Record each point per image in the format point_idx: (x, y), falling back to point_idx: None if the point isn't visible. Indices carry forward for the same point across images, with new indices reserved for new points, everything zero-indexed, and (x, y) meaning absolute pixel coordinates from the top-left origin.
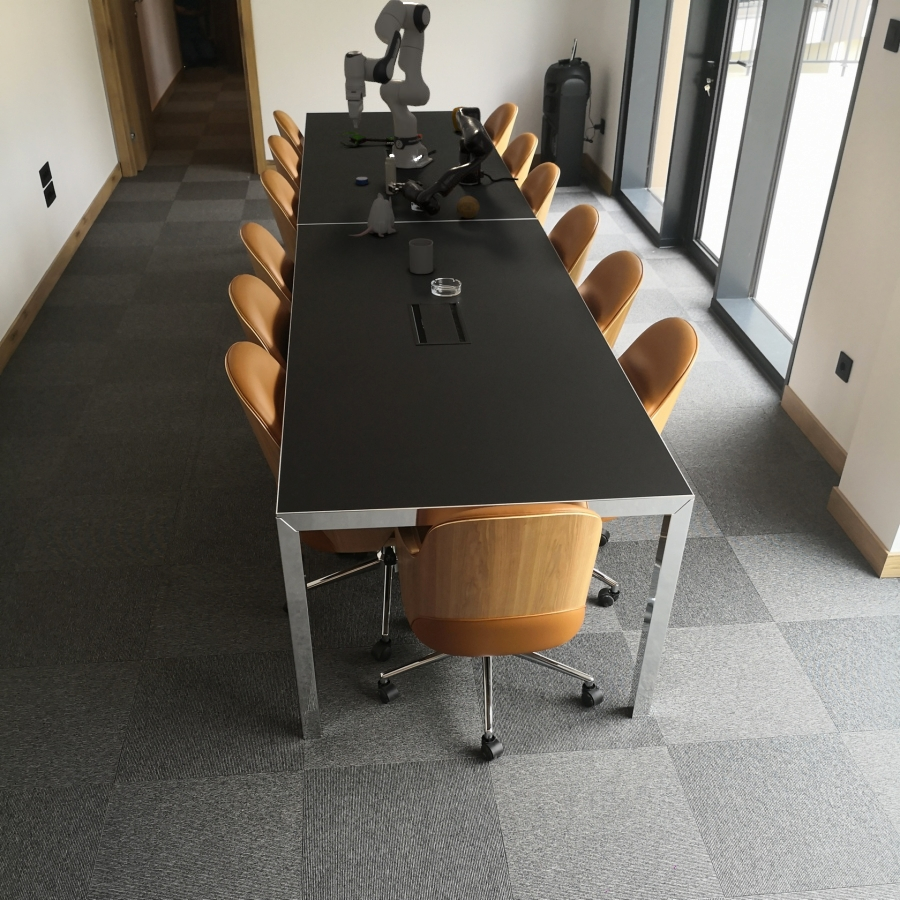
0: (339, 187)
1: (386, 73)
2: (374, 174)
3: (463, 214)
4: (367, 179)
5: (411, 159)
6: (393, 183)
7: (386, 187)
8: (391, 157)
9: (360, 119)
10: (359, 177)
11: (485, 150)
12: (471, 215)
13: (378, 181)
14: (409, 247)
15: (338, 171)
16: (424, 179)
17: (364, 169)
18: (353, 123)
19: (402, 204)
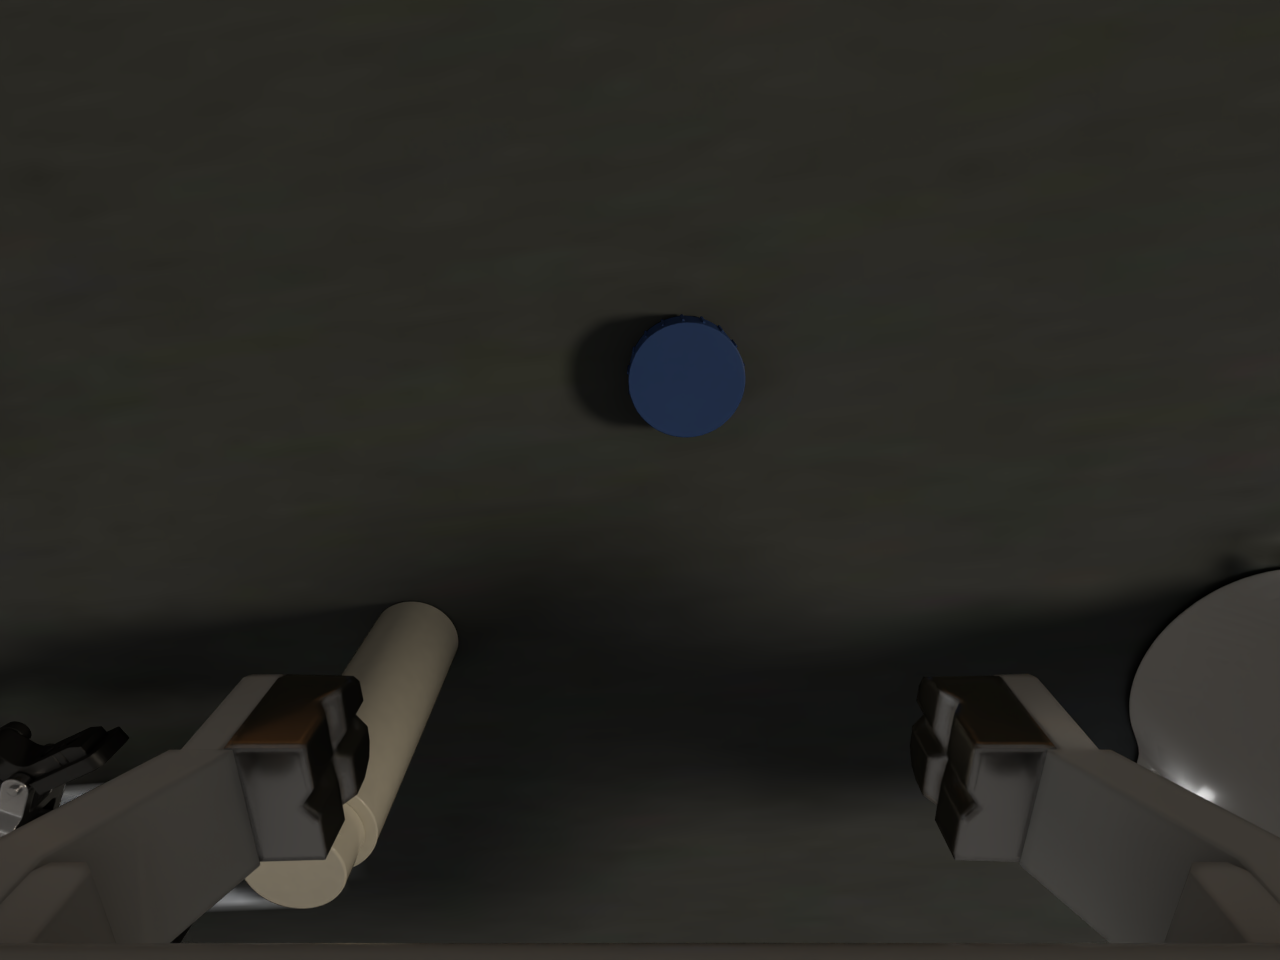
0: (525, 159)
1: None
2: (985, 448)
3: None
4: (676, 434)
5: (1192, 773)
6: (13, 796)
7: (370, 634)
8: (321, 881)
9: (973, 850)
10: (721, 352)
11: None
12: None
13: (747, 507)
14: None
15: (1162, 39)
16: (800, 821)
17: (1187, 330)
18: (153, 762)
19: (144, 732)
